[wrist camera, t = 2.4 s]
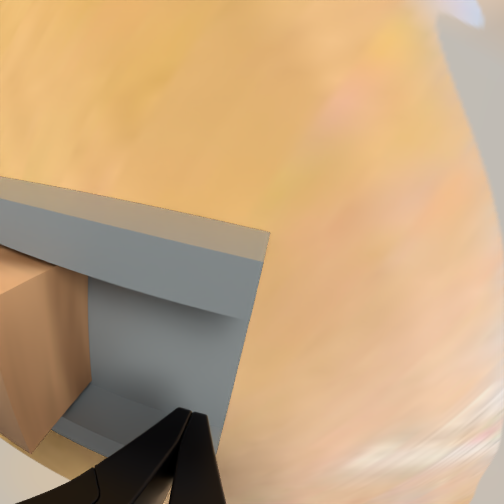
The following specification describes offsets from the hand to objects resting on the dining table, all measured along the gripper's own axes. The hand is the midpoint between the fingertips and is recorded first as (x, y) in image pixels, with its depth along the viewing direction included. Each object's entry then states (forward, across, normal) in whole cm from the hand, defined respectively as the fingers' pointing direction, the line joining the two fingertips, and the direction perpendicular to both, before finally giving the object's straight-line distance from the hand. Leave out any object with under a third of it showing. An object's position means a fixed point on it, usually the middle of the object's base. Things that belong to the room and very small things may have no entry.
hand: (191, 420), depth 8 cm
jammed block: (+3, +8, 0) cm, 9 cm away
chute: (+4, +7, 0) cm, 8 cm away
